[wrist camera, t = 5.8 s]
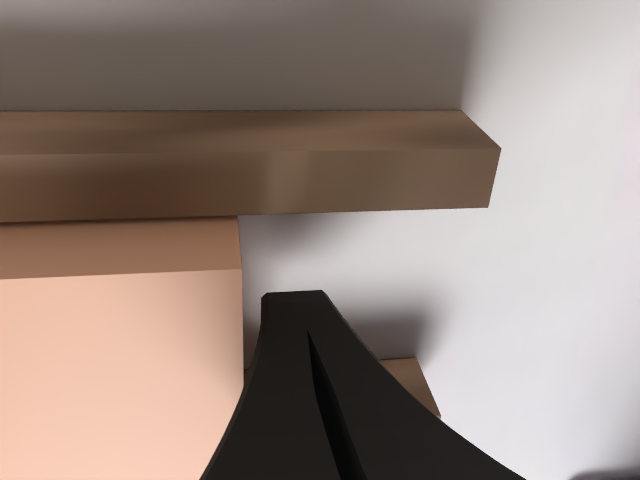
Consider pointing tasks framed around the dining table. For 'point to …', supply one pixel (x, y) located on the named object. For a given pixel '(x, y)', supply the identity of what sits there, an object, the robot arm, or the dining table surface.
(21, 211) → the building blocks
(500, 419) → the dining table surface
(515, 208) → the dining table surface
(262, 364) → the robot arm
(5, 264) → the terracotta block
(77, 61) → the dining table surface
